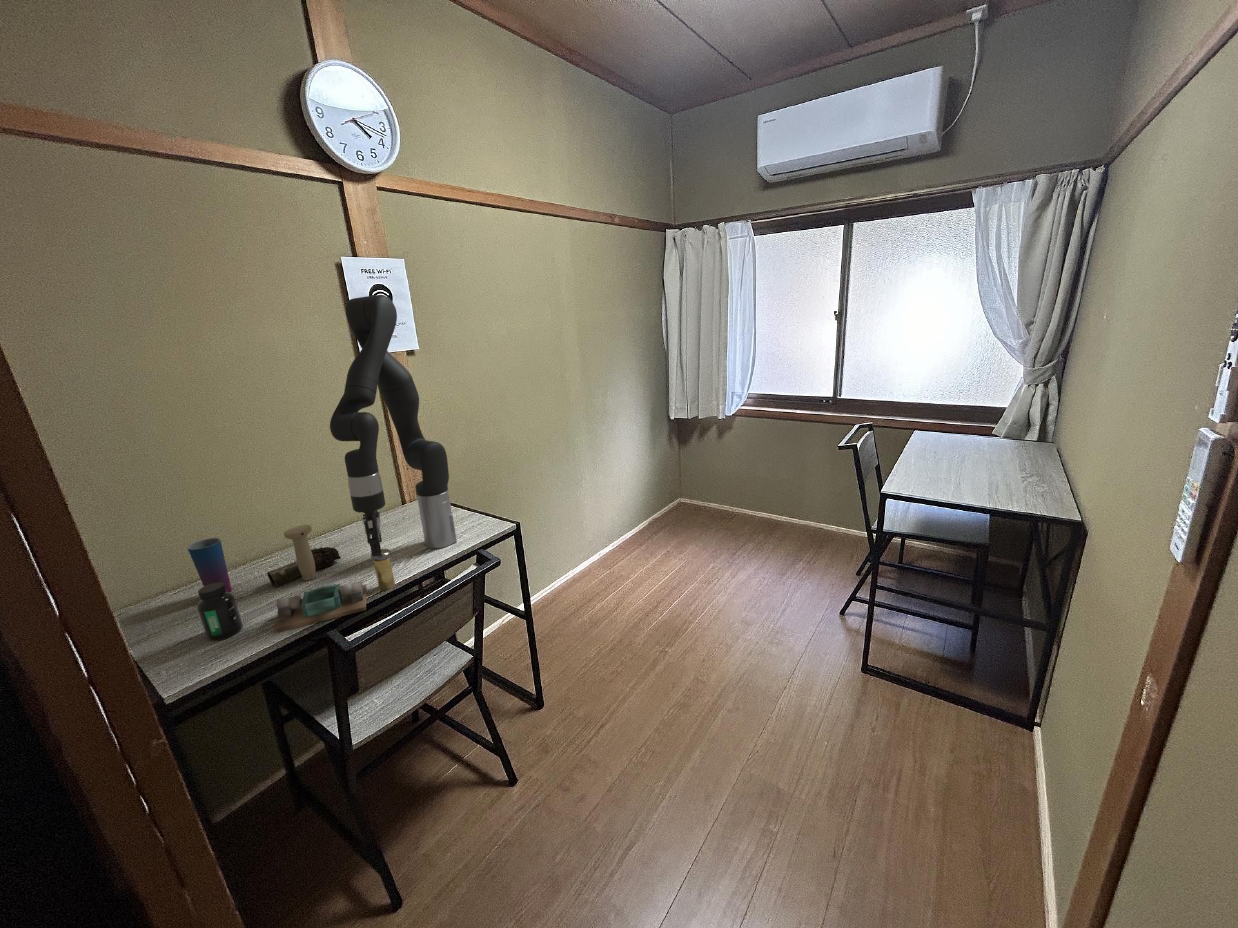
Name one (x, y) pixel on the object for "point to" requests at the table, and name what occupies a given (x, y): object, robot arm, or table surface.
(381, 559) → the cylinder
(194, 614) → the table surface
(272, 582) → the dark brown elongated piece
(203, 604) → the supplement bottle
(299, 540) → the handle
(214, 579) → the cup
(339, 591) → the shaft bench
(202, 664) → the table surface
